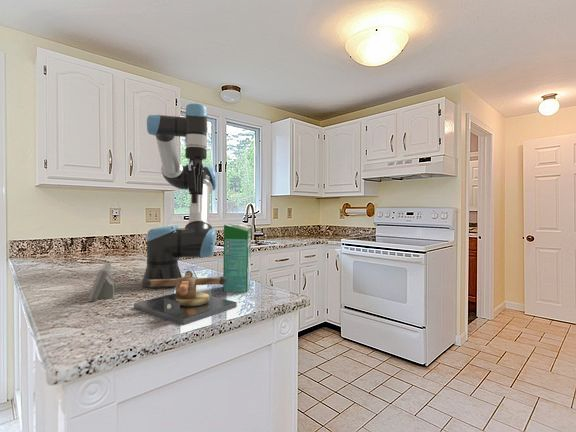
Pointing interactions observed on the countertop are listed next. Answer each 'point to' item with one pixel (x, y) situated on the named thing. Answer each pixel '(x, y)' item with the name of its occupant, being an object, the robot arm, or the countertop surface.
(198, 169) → the robot arm
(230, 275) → the milk carton
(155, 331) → the countertop surface
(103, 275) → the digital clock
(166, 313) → the stand
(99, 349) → the countertop surface
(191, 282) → the capstan
